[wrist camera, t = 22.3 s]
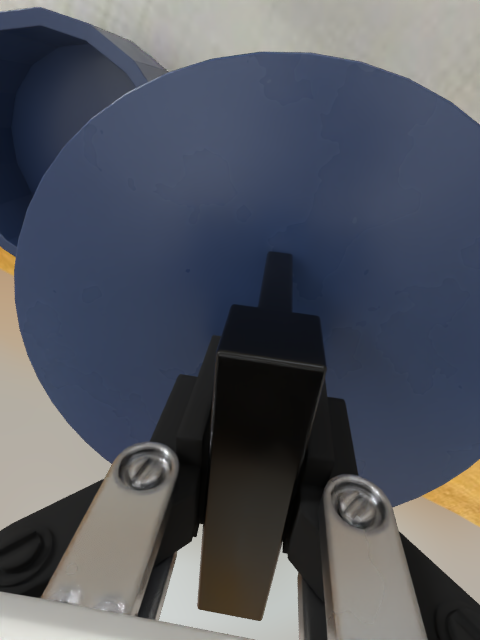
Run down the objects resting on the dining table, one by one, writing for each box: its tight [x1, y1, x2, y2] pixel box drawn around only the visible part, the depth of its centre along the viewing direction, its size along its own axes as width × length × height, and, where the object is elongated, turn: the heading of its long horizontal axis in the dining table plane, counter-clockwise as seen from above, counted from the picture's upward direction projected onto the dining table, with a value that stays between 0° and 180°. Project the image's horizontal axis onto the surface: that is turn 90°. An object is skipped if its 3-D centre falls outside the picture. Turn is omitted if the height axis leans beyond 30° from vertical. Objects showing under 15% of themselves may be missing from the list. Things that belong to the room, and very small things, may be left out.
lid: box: [14, 52, 480, 621], centre depth 10 cm, size 17×17×6 cm
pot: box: [0, 7, 168, 257], centre depth 26 cm, size 16×16×6 cm
